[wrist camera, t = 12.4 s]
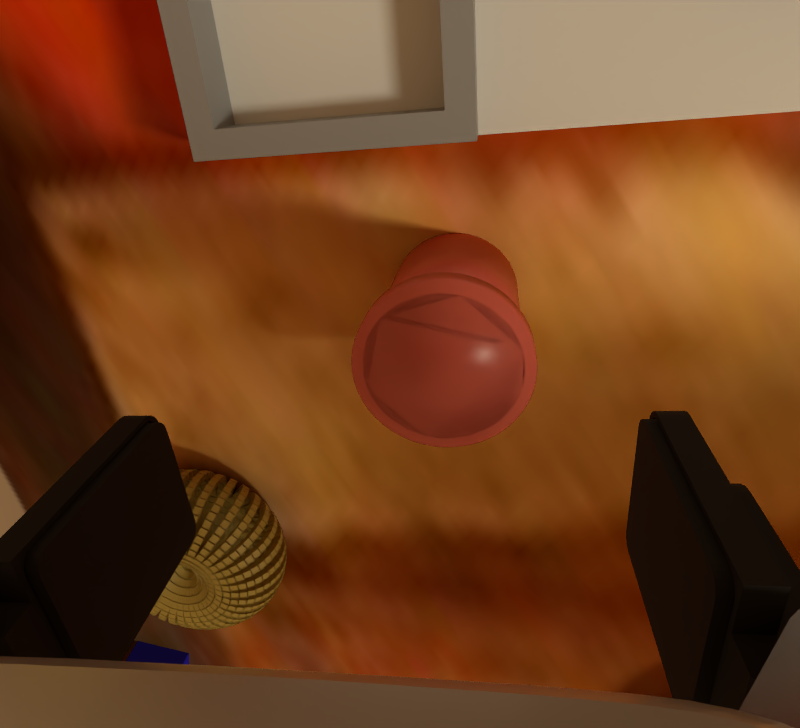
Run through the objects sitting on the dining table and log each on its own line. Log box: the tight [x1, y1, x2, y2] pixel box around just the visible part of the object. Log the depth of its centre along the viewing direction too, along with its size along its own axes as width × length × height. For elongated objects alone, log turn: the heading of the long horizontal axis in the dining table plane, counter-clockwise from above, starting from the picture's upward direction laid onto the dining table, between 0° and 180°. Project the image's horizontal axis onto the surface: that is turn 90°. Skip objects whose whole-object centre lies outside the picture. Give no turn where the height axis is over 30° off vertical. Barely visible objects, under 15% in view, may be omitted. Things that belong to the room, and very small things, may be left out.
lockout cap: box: [351, 233, 537, 447], centre depth 18 cm, size 5×5×6 cm
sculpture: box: [150, 469, 287, 630], centre depth 26 cm, size 8×4×8 cm
